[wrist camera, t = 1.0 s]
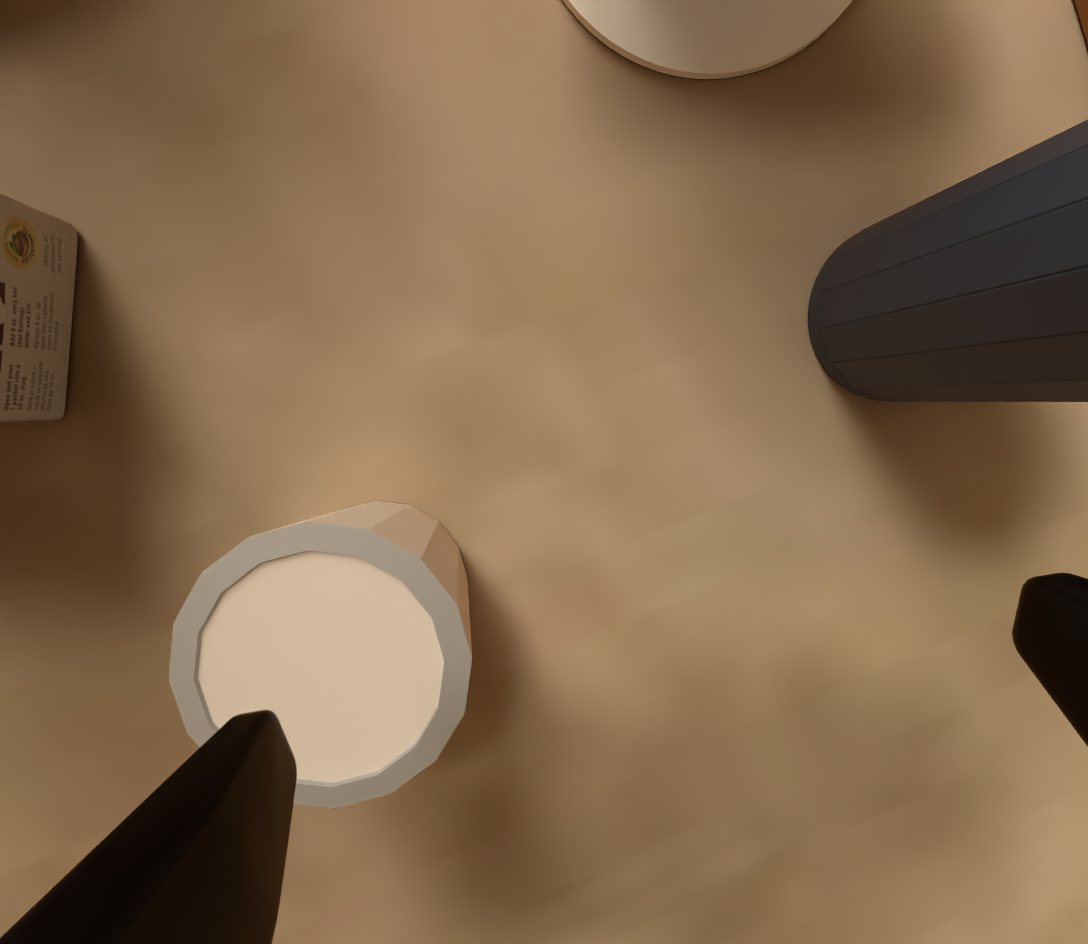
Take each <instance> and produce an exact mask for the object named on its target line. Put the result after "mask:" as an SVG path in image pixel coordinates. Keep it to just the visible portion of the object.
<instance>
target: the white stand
mask: <svg viewBox="0 0 1088 944" xmlns="http://www.w3.org/2000/svg"><path fill="white" fill-rule="evenodd" d="M563 2H564V3H565V5H566V6H567V7H568V8H569V10H570V11H571V12H572V13H573V14H574V16H575V17H576V18H577V19H578V20H579V21H580V22H581V23H582V24H583V25H584V26H585V27H586V28H587V29H588V30H589V31H590V32H591V33H592V34H593V35H594V36H595V37H597V38H598V39H599V40H600V41H602V42H603V43H604V44H605V45H607V46H608V47H609V48H611V49H613V50H614V51H616V52H617V53H619V54H620V55H622V56H623V57H625V58H627V59H629V60H631V61H633V62H635V63H637V64H639V65H642V66H644V67H647V68H650V69H652V70H655V71H658V72H662V73H666V74H670V75H673V76H679V77H686V78H694V79H719V78H729V77H736V76H742V75H746V74H749V73H753V72H757V71H760V70H762V69H765V68H768V67H771V66H773V65H775V64H777V63H779V62H781V61H783V60H786V59H788V58H789V57H791V56H793V55H794V54H796V53H797V52H799V51H801V50H802V49H804V48H805V47H806V46H808V45H809V44H810V43H812V42H813V41H814V40H816V39H817V38H818V37H819V36H820V35H821V34H822V33H824V32H825V31H826V30H827V29H828V28H829V27H830V26H831V25H832V24H833V23H834V22H835V21H836V19H837V18H838V17H839V16H840V15H841V14H842V13H843V11H844V10H845V9H846V8H847V7H848V6H849V4H850V3H851V2H852V0H563Z"/></svg>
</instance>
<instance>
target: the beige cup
mask: <svg viewBox="0 0 1088 944" xmlns="http://www.w3.org/2000/svg"><path fill="white" fill-rule="evenodd" d="M471 664H472V647H471V631H470V615H469V599H468V583H467V575H466V572H465V568H464V564H463V561H462V557H461V553H460V550H459V547H458V545H457V544H456V543H455V542H454V540H453V539H452V538H451V536H450V535H449V534H448V533H447V531H446V530H445V529H444V528H443V526H442V525H441V524H440V522H439V521H437V520H435V519H434V518H432V517H430V516H428V515H427V514H425V513H423V512H421V511H420V510H418V509H416V508H414V507H413V506H411V505H407V504H399V503H392V502H385V501H377V500H376V501H372V502H368V503H364V504H361V505H357V506H353V507H349V508H345V509H341V510H338V511H335V512H331V513H328V514H324V515H321V516H318V517H314V518H311V519H307V520H304V521H301V522H297V523H294V524H290V525H287V526H283V527H280V528H277V529H273V530H270V531H266V532H263V533H260V534H256V535H253V536H249V537H248V538H246V539H245V540H244V541H243V542H241V543H240V544H239V545H237V546H236V547H235V548H233V549H232V550H231V551H229V552H228V553H227V554H225V555H224V556H223V557H221V558H220V559H219V560H217V561H216V562H215V563H213V564H212V565H211V566H209V567H208V568H207V569H205V570H204V571H203V572H202V573H201V574H200V576H199V578H198V580H197V582H196V583H195V585H194V587H193V589H192V591H191V592H190V594H189V596H188V598H187V600H186V601H185V603H184V605H183V607H182V608H181V610H180V612H179V614H178V616H177V617H176V619H175V621H174V623H173V634H172V646H171V657H170V669H169V682H170V685H171V688H172V691H173V694H174V697H175V700H176V703H177V705H178V708H179V711H180V714H181V717H182V720H183V723H184V726H185V729H186V732H187V734H188V735H189V736H190V737H191V738H192V739H193V741H194V742H195V743H196V744H197V745H198V746H199V747H201V746H202V745H203V744H204V743H205V742H206V741H207V740H208V739H210V738H211V737H212V736H213V735H214V734H215V733H216V732H217V731H218V730H219V729H220V728H221V727H222V726H223V725H224V724H225V723H226V722H227V721H229V720H230V719H231V718H232V717H234V716H235V715H238V714H242V713H248V712H254V711H259V710H271V711H273V712H274V713H275V714H276V716H277V718H278V719H279V722H280V724H281V726H282V729H283V731H284V733H285V736H286V738H287V740H288V743H289V745H290V747H291V750H292V752H293V755H294V757H295V761H296V767H297V780H296V788H295V795H294V803H293V804H296V805H305V806H315V807H324V808H334V809H336V808H340V807H343V806H347V805H351V804H355V803H358V802H362V801H366V800H370V799H374V798H377V797H381V796H385V795H389V794H391V793H393V792H394V791H395V790H397V789H398V788H399V787H401V786H402V785H404V784H405V783H406V782H408V781H409V780H410V779H412V778H413V777H414V776H416V775H417V774H419V773H420V772H421V771H423V770H424V769H425V768H427V767H428V766H429V765H431V764H432V763H434V762H435V761H436V760H437V758H438V757H439V755H440V753H441V752H442V750H443V748H444V747H445V745H446V743H447V742H448V740H449V738H450V737H451V735H452V733H453V732H454V730H455V729H456V727H457V725H458V724H459V722H460V720H461V719H462V717H463V715H464V714H465V707H466V700H467V693H468V686H469V679H470V671H471Z"/></svg>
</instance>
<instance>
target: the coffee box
mask: <svg viewBox="0 0 1088 944" xmlns="http://www.w3.org/2000/svg"><path fill="white" fill-rule="evenodd" d="M77 243H78V238H77V233H76V231H75V229H74V228H73V226H72V225H70V224H69V223H67V222H65V221H63V220H60V219H58V218H56V217H54V216H51V215H49V214H47V213H44V212H42V211H40V210H37V209H35V208H32V207H30V206H28V205H25V204H23V203H21V202H18V201H16V200H14V199H11V198H9V197H6V196H4V195H1V194H0V422H7V421H39V420H58V419H60V418H62V417H63V415H64V411H65V401H66V389H67V376H68V363H69V351H70V338H71V325H72V312H73V298H74V284H75V270H76V257H77Z"/></svg>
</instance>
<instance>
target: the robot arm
mask: <svg viewBox="0 0 1088 944" xmlns="http://www.w3.org/2000/svg"><path fill="white" fill-rule="evenodd" d="M1012 637H1013V642H1014V645H1015V647H1016V649H1017V651H1018V653H1019V654H1020V656H1021V657H1022V658H1023V660H1024V661H1025V663H1026V664H1027V665H1028V667H1029V668H1030V669H1031V671H1032V672H1033V673H1034V675H1035V676H1036V677H1037V679H1038V680H1039V681H1040V683H1041V684H1042V685H1043V687H1044V688H1045V690H1046V691H1047V692H1048V694H1049V695H1050V696H1051V698H1052V699H1053V700H1054V702H1055V703H1056V704H1057V706H1058V707H1059V708H1060V710H1061V711H1062V712H1063V714H1064V715H1065V716H1066V718H1067V719H1068V721H1069V722H1070V723H1071V725H1072V726H1073V727H1074V729H1075V730H1076V731H1077V733H1078V734H1079V735H1080V737H1081V738H1082V739H1083V741H1084V742H1085V743H1086V745H1087V746H1088V579H1087V578H1083V577H1080V576H1077V575H1073V574H1069V573H1055V574H1049V575H1043V576H1037V577H1033V578H1030V579H1028V580H1027V581H1026V582H1025V583H1024V585H1023V587H1022V589H1021V594H1020V598H1019V603H1018V607H1017V611H1016V616H1015V620H1014V625H1013V630H1012ZM296 780H297V767H296V761H295V757H294V755H293V752H292V750H291V747H290V745H289V743H288V740H287V738H286V736H285V733H284V731H283V729H282V726H281V724H280V722H279V719H278V718H277V716H276V714H275V713H274V712H273V711H271V710H259V711H254V712H248V713H242V714H238V715H235V716H234V717H232V718H231V719H230V720H229V721H227V722H226V723H225V724H224V725H223V726H222V727H221V728H220V729H219V730H218V731H217V732H216V733H215V734H214V735H213V736H212V737H211V738H210V739H208V740H207V741H206V742H205V743H204V744H203V745H202V746H201V747H200V748H199V749H198V750H197V751H196V752H195V753H194V754H193V755H192V756H191V757H190V758H189V759H188V760H186V761H185V762H184V763H183V764H182V765H181V766H180V767H179V768H178V769H177V770H176V771H175V772H174V773H173V774H172V775H171V776H170V777H169V778H168V779H167V780H165V781H164V782H163V783H162V784H161V785H160V786H159V787H158V788H157V789H156V790H155V791H154V792H153V793H152V794H151V795H150V796H149V797H148V798H147V799H146V800H144V801H143V802H142V803H141V804H140V805H139V806H138V807H137V808H136V809H135V810H134V811H133V812H132V813H131V814H130V815H129V816H128V817H127V818H126V819H125V820H123V821H122V822H121V823H120V824H119V825H118V826H117V827H116V828H115V829H114V830H113V831H112V832H111V833H110V834H109V835H108V836H107V837H106V838H105V839H104V840H102V841H101V842H100V843H99V844H98V845H97V846H96V847H95V848H94V849H93V850H92V851H91V852H90V853H89V854H88V855H87V856H86V857H85V858H84V859H83V860H81V861H80V862H79V863H78V864H77V865H76V866H75V867H74V868H73V869H72V870H71V871H70V872H69V873H68V874H67V875H66V876H65V877H64V878H63V879H62V880H61V881H59V882H58V883H57V884H56V885H55V886H54V887H53V888H52V889H51V890H50V891H49V892H48V893H47V894H46V895H45V896H44V897H43V898H42V899H41V900H40V901H38V902H37V903H36V904H35V905H34V906H33V907H32V908H31V909H30V910H29V911H28V912H27V913H26V914H25V915H24V916H23V917H22V918H21V919H20V920H19V921H17V922H16V923H15V924H14V925H13V926H12V927H11V928H10V929H9V930H8V931H7V932H6V933H5V934H4V935H3V936H2V937H1V938H0V944H272V939H273V935H274V930H275V926H276V921H277V915H278V909H279V903H280V897H281V890H282V883H283V875H284V868H285V861H286V853H287V846H288V839H289V832H290V824H291V817H292V810H293V803H294V795H295V788H296Z"/></svg>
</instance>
